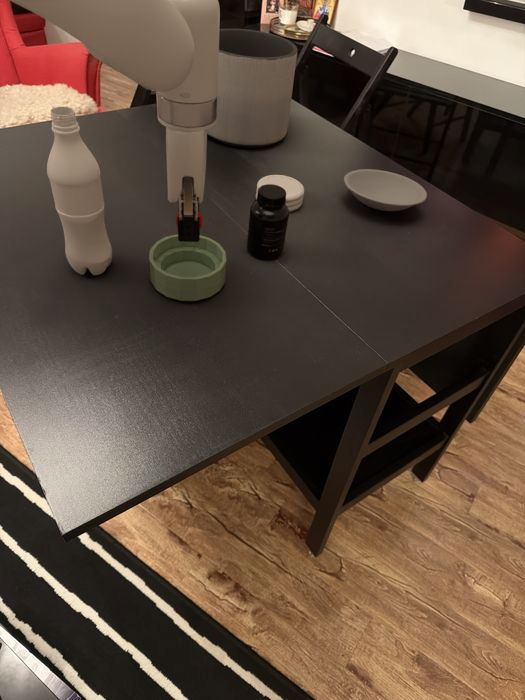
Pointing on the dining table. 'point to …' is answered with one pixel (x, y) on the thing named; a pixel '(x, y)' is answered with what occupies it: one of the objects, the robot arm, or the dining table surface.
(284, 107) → the planter
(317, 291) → the dining table surface
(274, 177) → the white round flat stack
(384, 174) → the dish
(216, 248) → the bowl
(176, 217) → the cherry tomato
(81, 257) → the water bottle
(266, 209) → the supplement bottle
